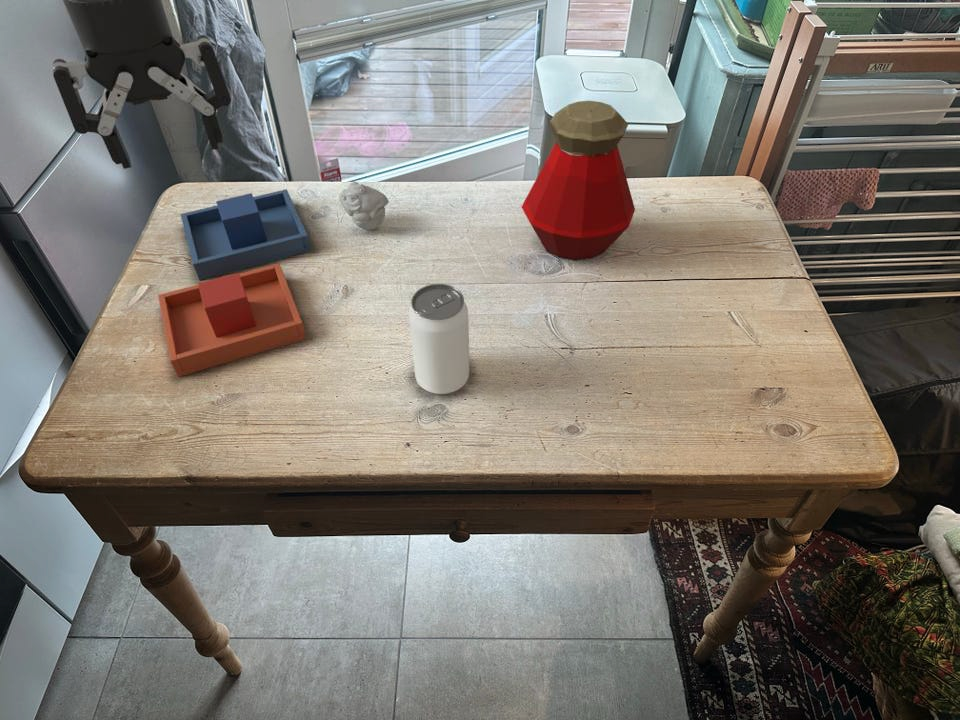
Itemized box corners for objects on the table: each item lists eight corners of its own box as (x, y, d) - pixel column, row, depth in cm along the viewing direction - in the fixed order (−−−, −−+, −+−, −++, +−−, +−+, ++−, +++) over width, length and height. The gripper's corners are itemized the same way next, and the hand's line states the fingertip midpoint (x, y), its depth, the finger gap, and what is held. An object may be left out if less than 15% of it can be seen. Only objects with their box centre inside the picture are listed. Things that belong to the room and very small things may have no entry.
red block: (216, 337, 84) (204, 308, 80) (209, 312, 87) (197, 283, 83) (256, 326, 85) (246, 296, 81) (248, 301, 88) (238, 272, 85)
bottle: (519, 271, 94) (526, 138, 79) (519, 214, 103) (526, 85, 88) (633, 274, 93) (662, 141, 78) (623, 216, 102) (647, 87, 88)
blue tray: (199, 280, 92) (193, 264, 90) (186, 229, 100) (180, 213, 98) (311, 251, 97) (307, 235, 95) (290, 204, 104) (286, 188, 102)
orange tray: (178, 377, 80) (170, 361, 78) (165, 310, 88) (157, 294, 86) (306, 338, 85) (302, 322, 83) (283, 278, 93) (279, 262, 90)
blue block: (232, 249, 96) (222, 220, 92) (225, 230, 99) (215, 201, 95) (267, 240, 97) (258, 211, 93) (260, 221, 100) (251, 192, 96)
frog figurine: (345, 215, 102) (338, 175, 97) (391, 213, 103) (387, 172, 98) (343, 240, 98) (335, 199, 93) (391, 237, 99) (386, 196, 94)
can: (404, 374, 81) (394, 299, 72) (445, 347, 84) (441, 272, 75) (438, 405, 77) (433, 331, 69) (480, 376, 80) (480, 302, 72)
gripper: (187, -44, 61) (235, 124, 73) (13, -21, 57) (94, 152, 69) (200, -17, 57) (249, 158, 68) (12, 10, 53) (98, 190, 65)
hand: (171, 155), depth 69 cm, fingers open, 8 cm apart
